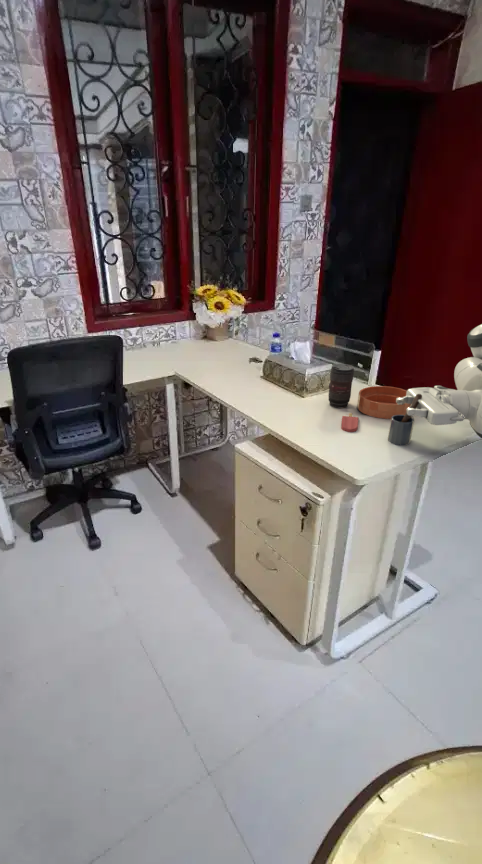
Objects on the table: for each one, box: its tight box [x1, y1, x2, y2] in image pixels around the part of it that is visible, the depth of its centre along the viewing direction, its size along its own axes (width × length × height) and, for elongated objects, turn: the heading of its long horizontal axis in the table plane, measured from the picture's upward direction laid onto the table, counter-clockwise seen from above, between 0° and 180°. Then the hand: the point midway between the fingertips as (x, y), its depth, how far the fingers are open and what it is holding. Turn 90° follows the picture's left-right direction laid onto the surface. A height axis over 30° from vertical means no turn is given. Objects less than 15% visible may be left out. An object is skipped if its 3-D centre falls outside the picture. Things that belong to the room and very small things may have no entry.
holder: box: [387, 415, 415, 446], centre depth 126 cm, size 6×6×8 cm
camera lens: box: [328, 363, 355, 409], centre depth 153 cm, size 8×8×15 cm
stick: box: [401, 394, 422, 422], centre depth 125 cm, size 2×2×16 cm
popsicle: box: [340, 412, 360, 433], centre depth 141 cm, size 5×2×15 cm
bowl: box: [356, 385, 411, 420], centre depth 149 cm, size 18×18×6 cm
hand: (401, 406), depth 123 cm, fingers open, 7 cm apart
